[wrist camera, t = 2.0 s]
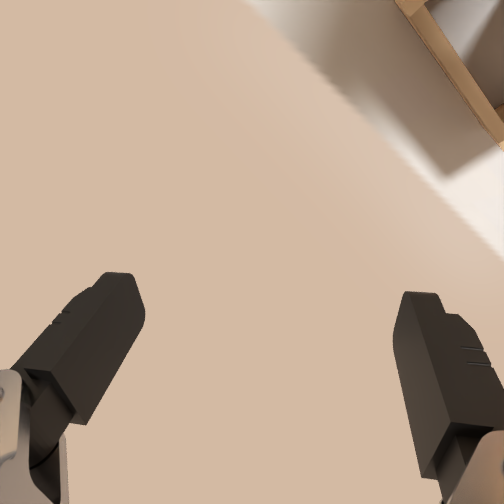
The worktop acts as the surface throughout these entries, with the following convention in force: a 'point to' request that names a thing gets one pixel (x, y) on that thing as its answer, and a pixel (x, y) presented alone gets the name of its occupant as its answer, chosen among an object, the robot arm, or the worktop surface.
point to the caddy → (454, 68)
